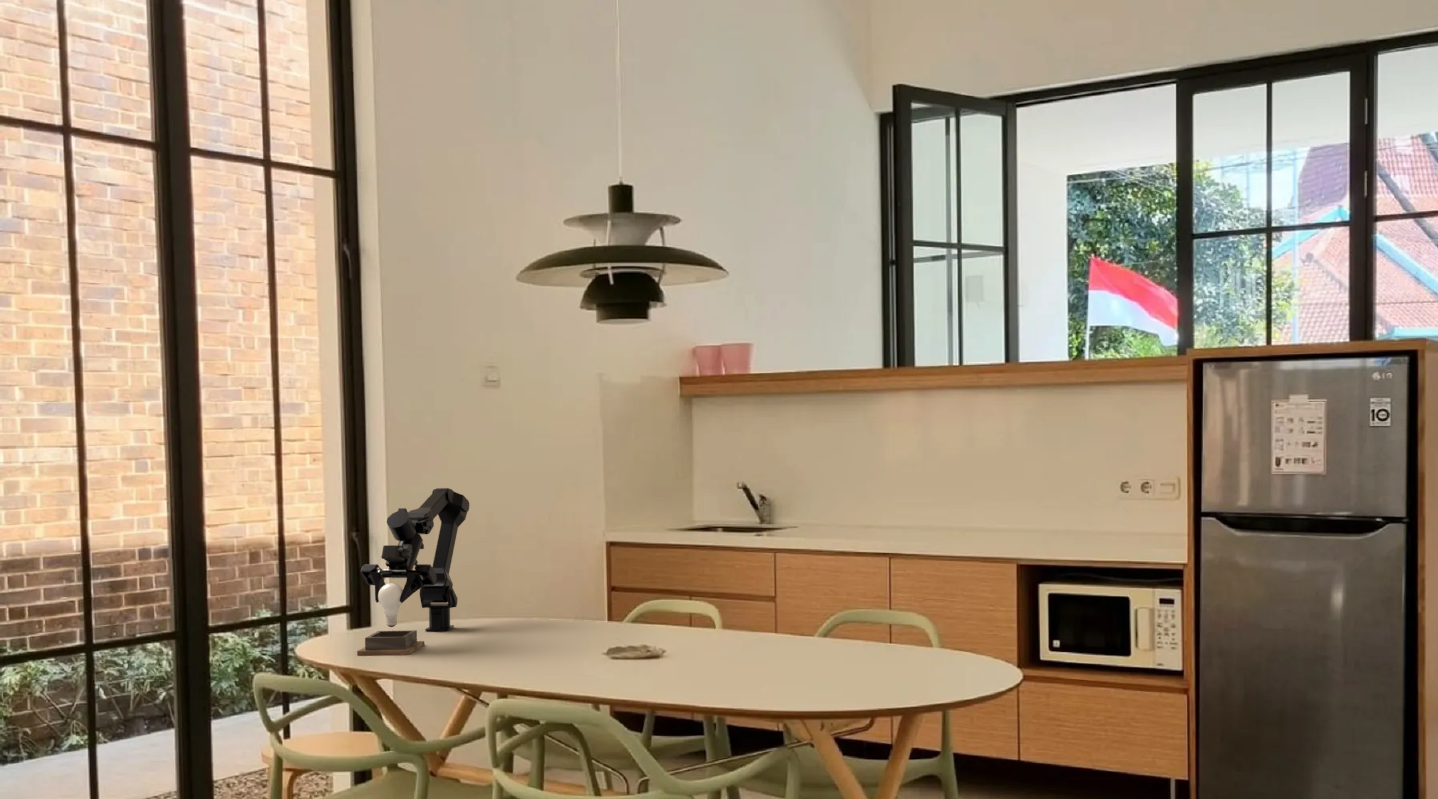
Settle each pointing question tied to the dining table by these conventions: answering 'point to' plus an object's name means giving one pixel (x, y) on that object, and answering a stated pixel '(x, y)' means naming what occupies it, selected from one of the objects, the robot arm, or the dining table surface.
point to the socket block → (391, 643)
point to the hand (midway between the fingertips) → (388, 601)
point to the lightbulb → (390, 602)
